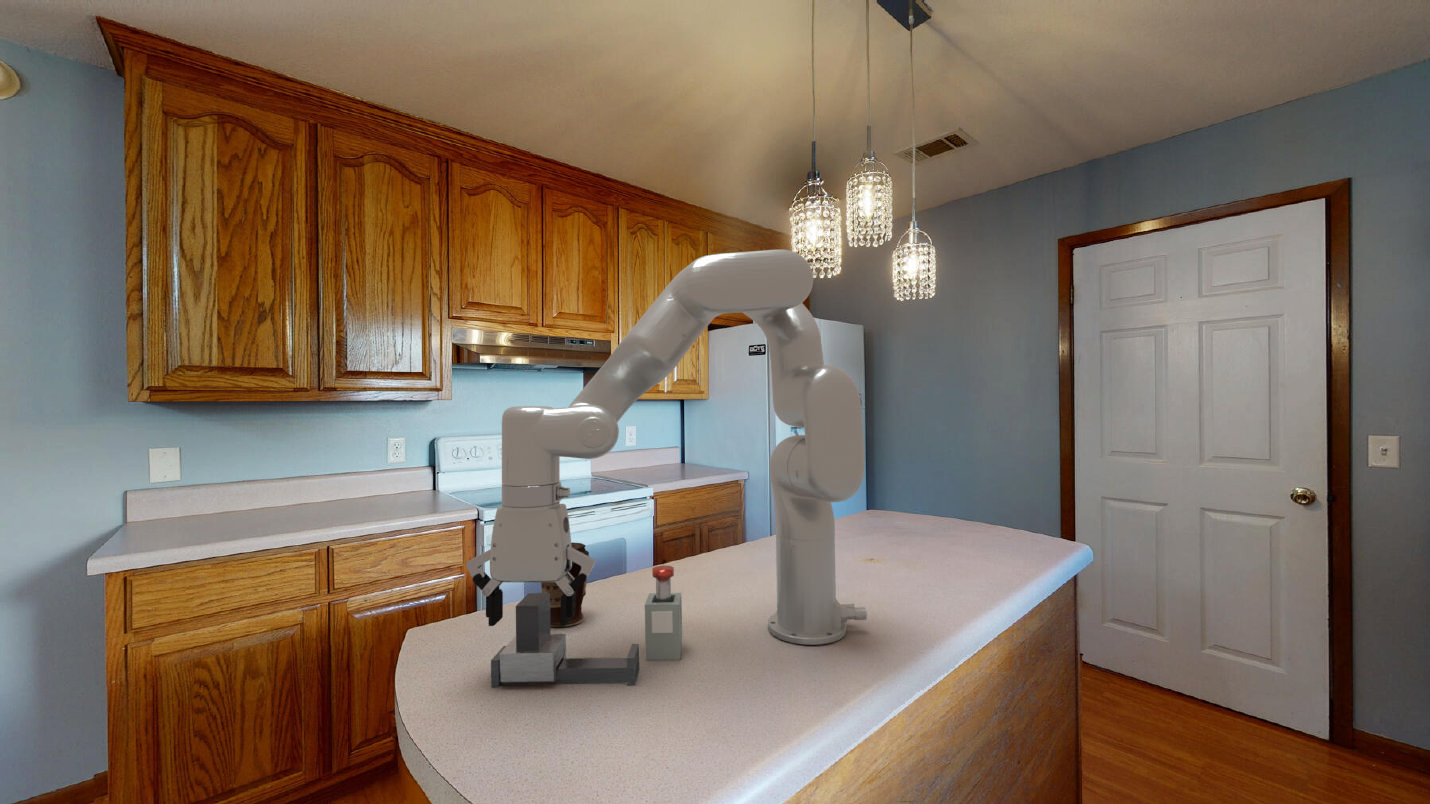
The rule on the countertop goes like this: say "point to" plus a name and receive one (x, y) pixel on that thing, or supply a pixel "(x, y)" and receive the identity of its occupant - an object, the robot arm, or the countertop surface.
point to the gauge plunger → (663, 582)
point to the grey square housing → (663, 628)
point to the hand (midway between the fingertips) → (531, 622)
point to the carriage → (532, 643)
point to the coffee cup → (557, 593)
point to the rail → (583, 670)
